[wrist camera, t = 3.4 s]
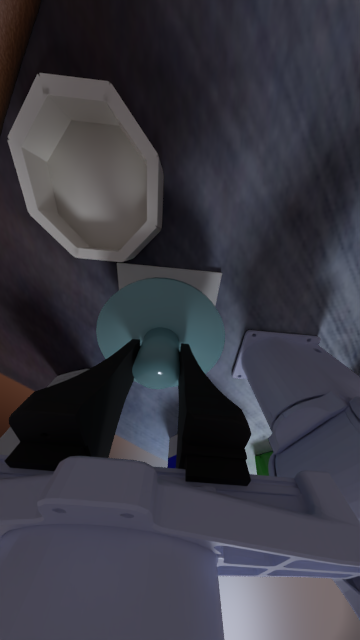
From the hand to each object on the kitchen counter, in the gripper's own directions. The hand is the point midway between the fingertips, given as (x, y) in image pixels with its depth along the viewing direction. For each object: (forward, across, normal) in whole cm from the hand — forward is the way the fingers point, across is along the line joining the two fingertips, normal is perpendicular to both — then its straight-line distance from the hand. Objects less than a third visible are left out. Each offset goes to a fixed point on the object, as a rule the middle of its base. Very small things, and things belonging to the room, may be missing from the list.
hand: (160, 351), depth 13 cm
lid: (+2, 0, 0) cm, 2 cm away
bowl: (+7, +6, -11) cm, 15 cm away
